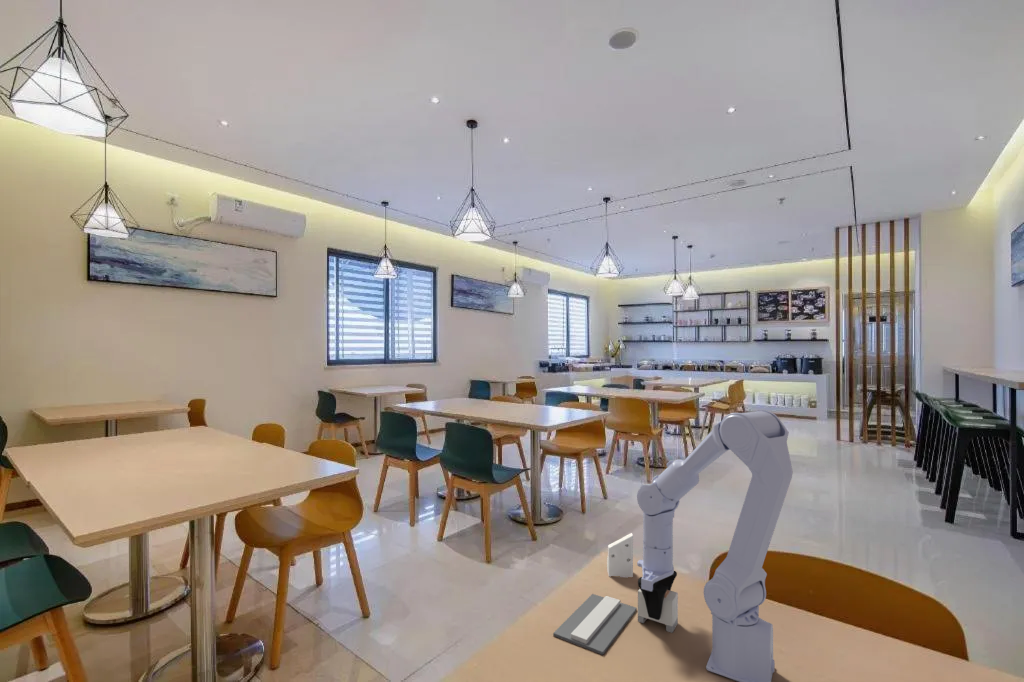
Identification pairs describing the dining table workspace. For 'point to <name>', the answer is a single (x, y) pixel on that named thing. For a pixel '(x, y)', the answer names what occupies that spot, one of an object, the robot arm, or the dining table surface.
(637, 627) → the dining table surface
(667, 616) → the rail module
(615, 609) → the din rail
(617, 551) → the white angled block
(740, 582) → the robot arm
